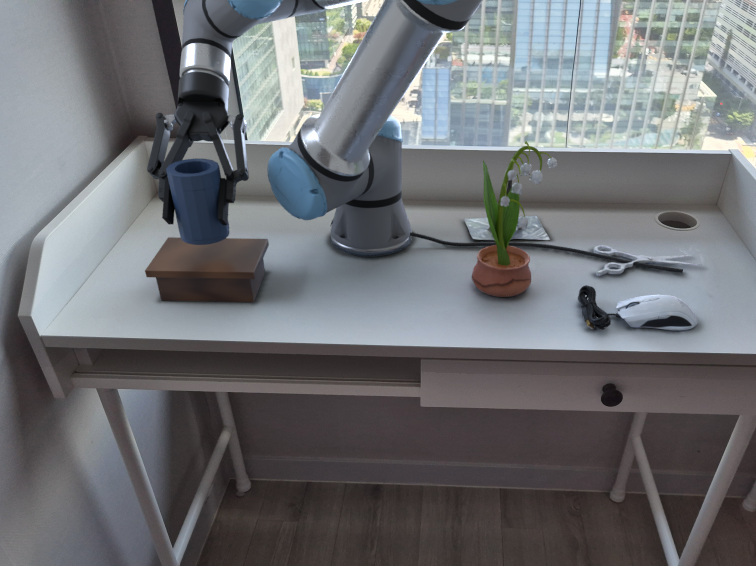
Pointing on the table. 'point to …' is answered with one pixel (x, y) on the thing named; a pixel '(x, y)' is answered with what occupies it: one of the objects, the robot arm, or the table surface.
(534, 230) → the flat silver square plate
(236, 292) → the overhanging wooden cap box
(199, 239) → the jar
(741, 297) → the table surface
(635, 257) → the scissors
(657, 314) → the computer mouse
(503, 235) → the potted flower
